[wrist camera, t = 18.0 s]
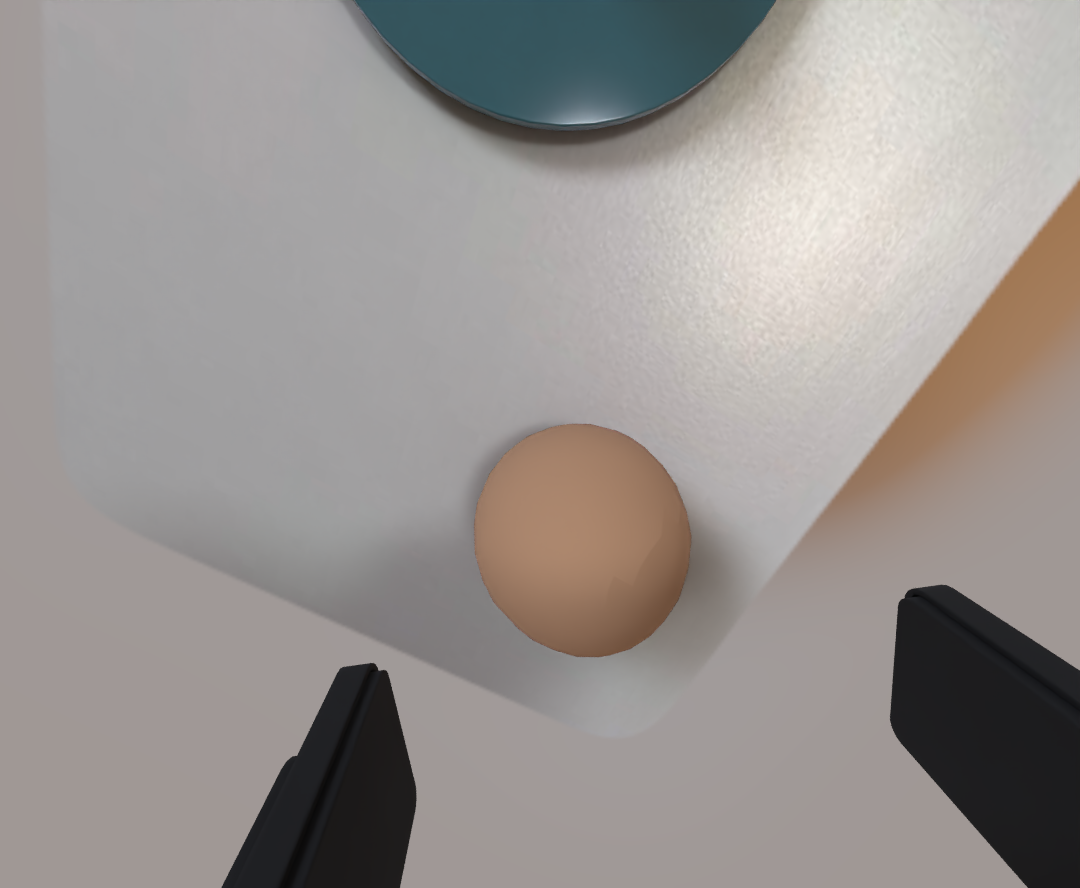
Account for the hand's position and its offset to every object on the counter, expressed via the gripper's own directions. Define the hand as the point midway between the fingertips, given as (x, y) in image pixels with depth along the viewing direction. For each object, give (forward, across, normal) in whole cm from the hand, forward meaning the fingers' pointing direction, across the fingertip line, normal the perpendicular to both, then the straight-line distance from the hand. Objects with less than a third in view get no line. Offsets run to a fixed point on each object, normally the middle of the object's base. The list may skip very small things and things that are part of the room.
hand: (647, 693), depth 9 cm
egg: (+11, 0, 0) cm, 11 cm away
